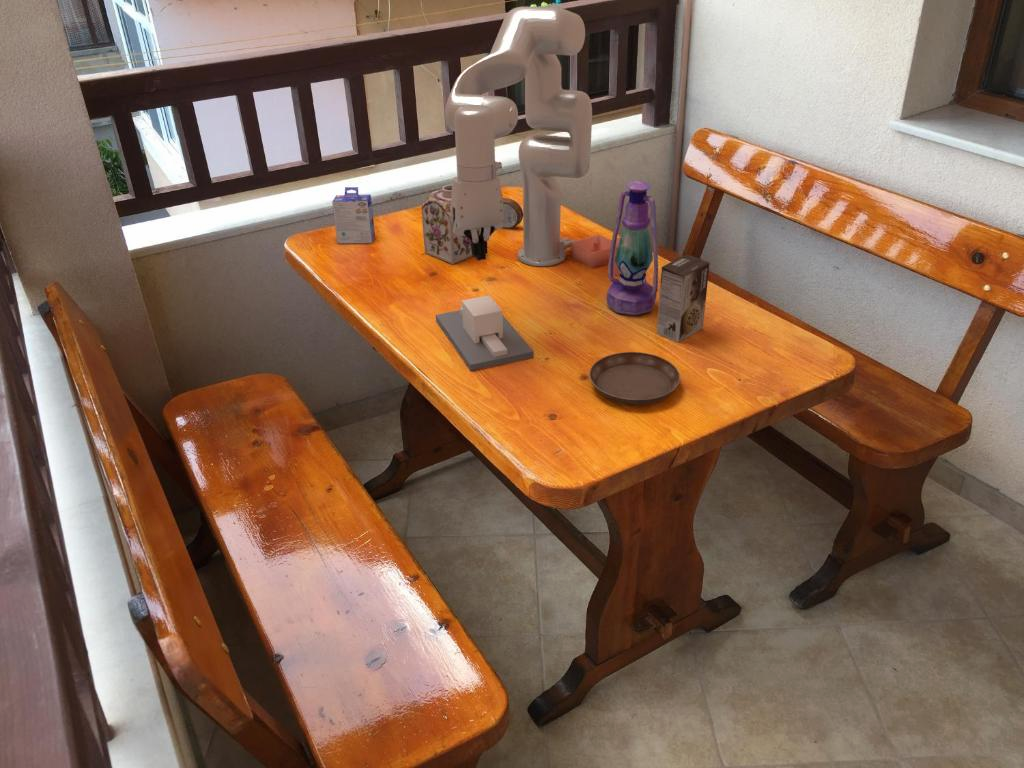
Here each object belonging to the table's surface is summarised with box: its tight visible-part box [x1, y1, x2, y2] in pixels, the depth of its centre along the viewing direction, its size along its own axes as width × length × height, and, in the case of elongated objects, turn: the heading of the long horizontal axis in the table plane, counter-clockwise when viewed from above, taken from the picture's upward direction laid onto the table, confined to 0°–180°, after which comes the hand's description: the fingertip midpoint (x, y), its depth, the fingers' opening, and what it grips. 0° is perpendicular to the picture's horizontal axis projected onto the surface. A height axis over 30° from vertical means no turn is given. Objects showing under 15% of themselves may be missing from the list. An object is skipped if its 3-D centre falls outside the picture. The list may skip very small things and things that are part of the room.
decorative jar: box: [421, 184, 480, 265], centre depth 223 cm, size 12×12×18 cm
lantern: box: [606, 180, 659, 316], centre depth 192 cm, size 13×12×30 cm
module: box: [461, 294, 504, 343], centre depth 186 cm, size 6×8×6 cm
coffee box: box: [656, 253, 710, 343], centre depth 185 cm, size 9×6×16 cm
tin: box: [502, 197, 523, 230], centre depth 241 cm, size 15×3×8 cm, turn 66°
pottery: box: [569, 233, 622, 277], centre depth 218 cm, size 18×10×10 cm, turn 34°
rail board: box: [435, 306, 534, 372], centre depth 187 cm, size 14×24×3 cm, turn 22°
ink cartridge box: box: [331, 186, 376, 244], centre depth 232 cm, size 10×6×14 cm, turn 89°
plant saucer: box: [588, 351, 681, 407], centre depth 170 cm, size 18×18×3 cm
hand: (479, 257), depth 178 cm, fingers closed
